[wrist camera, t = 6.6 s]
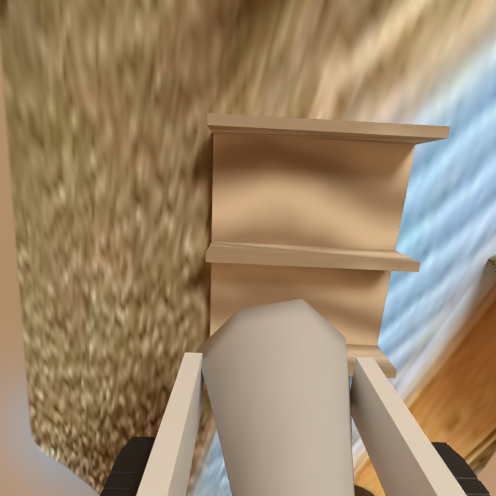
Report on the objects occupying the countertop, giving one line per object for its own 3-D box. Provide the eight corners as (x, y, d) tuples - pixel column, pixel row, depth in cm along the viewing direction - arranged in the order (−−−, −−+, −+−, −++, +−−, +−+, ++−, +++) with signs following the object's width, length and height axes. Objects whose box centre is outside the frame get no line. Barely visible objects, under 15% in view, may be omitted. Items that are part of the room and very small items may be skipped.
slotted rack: (370, 345, 31) (395, 378, 26) (211, 338, 30) (204, 370, 25) (409, 136, 25) (450, 126, 20) (215, 126, 25) (207, 113, 20)
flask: (245, 443, 15) (241, 976, 5) (171, 339, 13) (-57, 843, 3) (371, 389, 14) (674, 914, 4) (310, 270, 12) (580, 681, 2)
